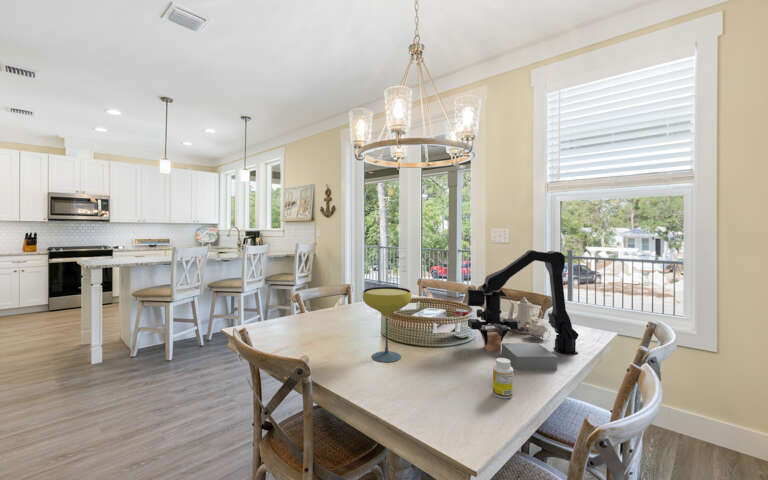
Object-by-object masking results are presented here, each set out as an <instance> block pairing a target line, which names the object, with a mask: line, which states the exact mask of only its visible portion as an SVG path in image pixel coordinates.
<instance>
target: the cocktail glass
mask: <svg viewBox="0 0 768 480" xmlns="http://www.w3.org/2000/svg"><path fill="white" fill-rule="evenodd" d="M411 300H412V291H411V289H409V288H405V287H404V288H403V287H398V286H396V287H395V286H377V287H368V288H366V289H363V291H362V301H363V302H364V304H366V306H368V307H370V308H372V309H373V310H375V311H377V312H380V314H381V315H382V316H383V317H384V318H385V348H384V351H383V350H382V351H377V352H375V353H373V354H372V355H371V357H372V359H373V360H374V361H376V362H379V363H395V362H398V361H400V359H401V358H402V355H401V354H399V352H396V351H391V350H389V343H388V341H389V340H388V339H389V337H388V336H389V335H388V334H389V333H388V331H389V330H388V327H389V326H388V322H389V320H388V319H390V318H391V316H392V314H394V313H395V312H397V311H399V310H401V309H403V308H405V307H406V306H408V305H409V303H411Z"/></svg>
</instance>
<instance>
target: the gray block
mask: <svg viewBox="0 0 768 480" xmlns="http://www.w3.org/2000/svg"><path fill="white" fill-rule="evenodd" d="M501 356H502V358H506V359H509V360H510V364H511V367H512V368H513V369H515V370H516V371H552V370H553V371H556V370H557V371H558V356H557V355H556V354H555V353H553V352H551V351H550V350H549V349H547V348H546V347H545V346H543V345H542V344H540V343H538V342H521V343H520V342H516V343H515V342H511V343H510V342H509V343H507V342H501Z"/></svg>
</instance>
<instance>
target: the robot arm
mask: <svg viewBox="0 0 768 480" xmlns="http://www.w3.org/2000/svg"><path fill="white" fill-rule="evenodd" d="M533 262H542V263H544V266H545V268H546V269H547V273H548V274H549V282H550V283H549V284H550V292H551V304H552V311H551V312H548V313H547V317H548V324H550V326H551V328H553V329H554V332H555V333H556V334H555V339H554V347H553V350H554V351H556V352H558V353H560V354H561V355H578V354H579V352H578V351H577V350H576V345H577V344H576V341H577V340H578V337H579V333H578V332H577V331H576V330H575V329H574V328H573V324H572V321H571V318H570V316H569V314H568V312H567V309H566V299H565V290H564V280H563V273H564V269H565V268H566V267H565V265H566V264H565V263H566V257H565V254H564V253H562V252H559V251H556V250H549V251H547V252H543V251H536V250H532V249H529V250H527V251H525V253H524V254H522V255H521V256H519V257H518V258H516V259H515V260H513V261H512V262H511V263H510V264H508V265H507V266H505V267H503V268H502V269H500V270H498V271H494V272H492V273H490V274H488V275H486V277H485V278H484V283H483V284H482V285H481V287H480V288H479V289H472V288H467V292H466V296H465V300H466V301H465V302H466V303H465V304H466V306H467V307H483V306H484V305H485V307H484V309H483V310H482V309H481V308H479V309H476V318H470V319H469V320H468V326H469V327H470V330H474V331H475V330H478V331H479V332H480V334H481V335H480V336H481V337H482V340H483V345H484V344H485V345H486V346H487V332H488V329H486V328H487V327H494V326H498V330H497V331H498V332H497V333H498V334H499V335H500V336H501V343H503V340H504V338H505V336H506V335H507V333H508V332H510V331H511V330H514V329H518V323H517V322H516V321H515V320H513V319H508V318H506V319H503V321H500V317H501V314H502V310H501V302H502V301H501V298H502V297H506V296H507V294H506V293H505V292H504V291H503V289H502V288H503V287H504V286H505V285H506V283H507V282H508V281H509V279H510V278H512V277H513V276H514V275H516V274H517V273H519V272H520V271H522V270H523V269H524V268H526V267H527V266H529V265H530V264H532V263H533ZM479 318H480V320H479Z"/></svg>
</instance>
